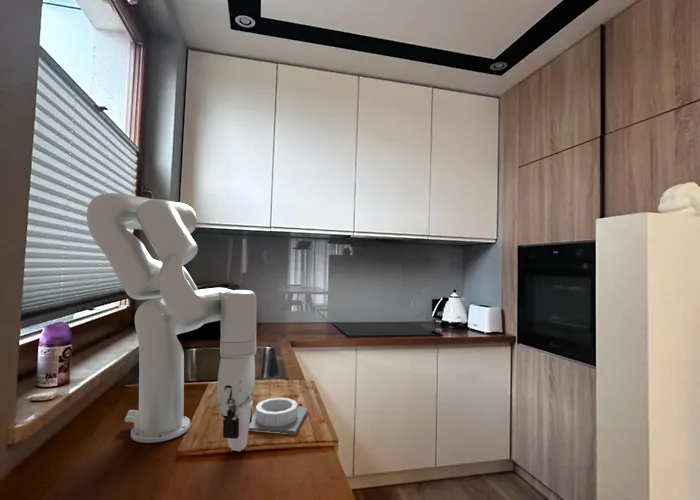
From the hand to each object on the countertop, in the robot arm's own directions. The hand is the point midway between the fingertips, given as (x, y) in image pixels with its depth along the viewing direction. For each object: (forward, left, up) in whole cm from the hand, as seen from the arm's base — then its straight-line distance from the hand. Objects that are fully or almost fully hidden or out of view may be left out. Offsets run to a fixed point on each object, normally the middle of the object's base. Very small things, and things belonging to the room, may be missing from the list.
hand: (237, 429), depth 83 cm
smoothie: (0, 0, -4) cm, 4 cm away
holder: (+4, +14, -4) cm, 15 cm away
